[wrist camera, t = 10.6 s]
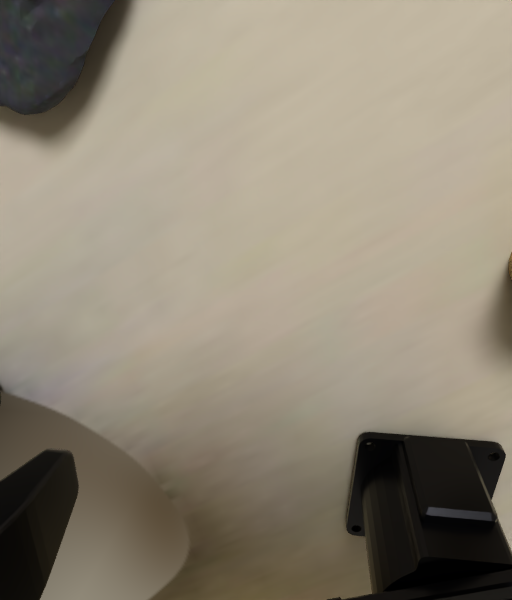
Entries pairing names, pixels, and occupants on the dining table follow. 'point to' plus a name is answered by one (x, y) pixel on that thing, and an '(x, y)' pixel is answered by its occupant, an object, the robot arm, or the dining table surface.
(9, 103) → the dark slate chunk
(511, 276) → the short pin
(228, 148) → the dining table surface
